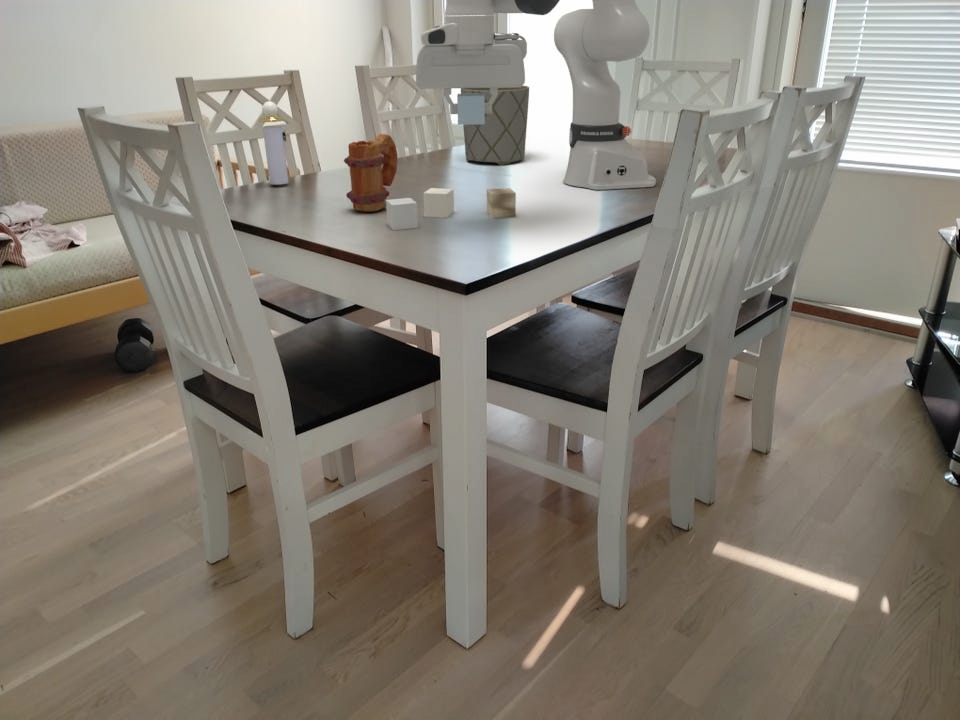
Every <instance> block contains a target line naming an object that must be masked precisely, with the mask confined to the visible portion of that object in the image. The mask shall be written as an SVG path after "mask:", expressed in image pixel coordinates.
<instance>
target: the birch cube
mask: <svg viewBox="0 0 960 720" xmlns="http://www.w3.org/2000/svg"><path fill="white" fill-rule="evenodd" d="M516 195H517V194H516V192H515V191H514V190H513V189H512V188H511V187H503V188H486V214H487V215H489V217H490V218H491V219H500V218H501V219H502V218H516V212H517V211H516V207H517V206H516V200H517V199H516V198H517V196H516Z"/></svg>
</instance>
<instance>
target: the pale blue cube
mask: <svg viewBox="0 0 960 720" xmlns="http://www.w3.org/2000/svg"><path fill="white" fill-rule="evenodd" d="M456 96H457V103H456V104H457V106H458V114H457V125H458V126H459V125H471V124H485V102H484V93H477V94H461V93H457V95H456Z"/></svg>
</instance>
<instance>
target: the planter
mask: <svg viewBox="0 0 960 720" xmlns="http://www.w3.org/2000/svg"><path fill="white" fill-rule="evenodd" d="M477 93H484V102H485V103H488V102H489V100H490V99H491V97H492V95H493V94H490V88H460V94H477ZM529 95H530V87H529V86H527V85H523V86H522V87H515V88H498V95H497V97H496V99H495V100H494V102H493V104H492V114H485V124H471V125H463V127H462V128H463V137H464V138H463V139H464V151H465V160H466V162H467V163H470V161H474V162H483V163H494V164H495V163H496V164H497V165H499V166H506V165H507V164H510V163H515V162H518V161H521V160H524V159H525V154H526V139H527V127H528V126H527V125H528V124H527V123H528V112H529V100H530V99H529V97H530V96H529Z"/></svg>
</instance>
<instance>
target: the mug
mask: <svg viewBox="0 0 960 720" xmlns="http://www.w3.org/2000/svg"><path fill="white" fill-rule="evenodd" d="M347 146H348V156H346V157H345V158H344V159H343V162H344V163H345V164H346V165H347V167H348V168H349V175H350V176H349V177H350V183H351V185H350V186H351V190H350V191H349V192H347V193H346V198H347V199H348V200H350V202H351V203H352V208H353V209H354V210H355V211H357V212H361V213H362V212H363V213H371V212H373V213H374V212H378V211H380V210H382V209H384V207H385V205H386V200H387V198H388V197H389V196H390V192H389V190H387V188H386V187H390V186H391V185H392V184H393V181H394V179H395V176H396V174H397V170H398V169H397V168H398V151H397V147H396V144H395V141H394V139H393V138H392V136H391V135H389V134H385V133H380V134H378V135H377V136H376V139H375V140H369V141H366V140H359V141H356V142H355V141H352V142H350V143H349V144H348V145H347Z"/></svg>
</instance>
